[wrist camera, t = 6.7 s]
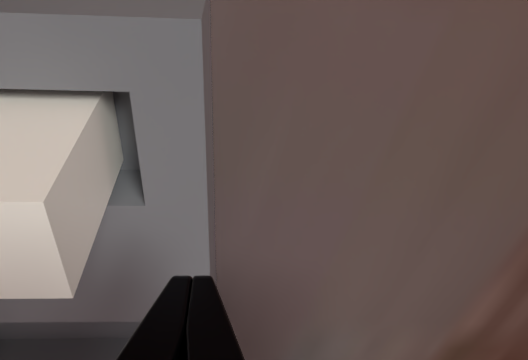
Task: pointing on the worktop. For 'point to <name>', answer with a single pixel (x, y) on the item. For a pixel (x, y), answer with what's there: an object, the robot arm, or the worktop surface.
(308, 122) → the worktop surface
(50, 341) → the switch bank
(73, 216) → the tab
